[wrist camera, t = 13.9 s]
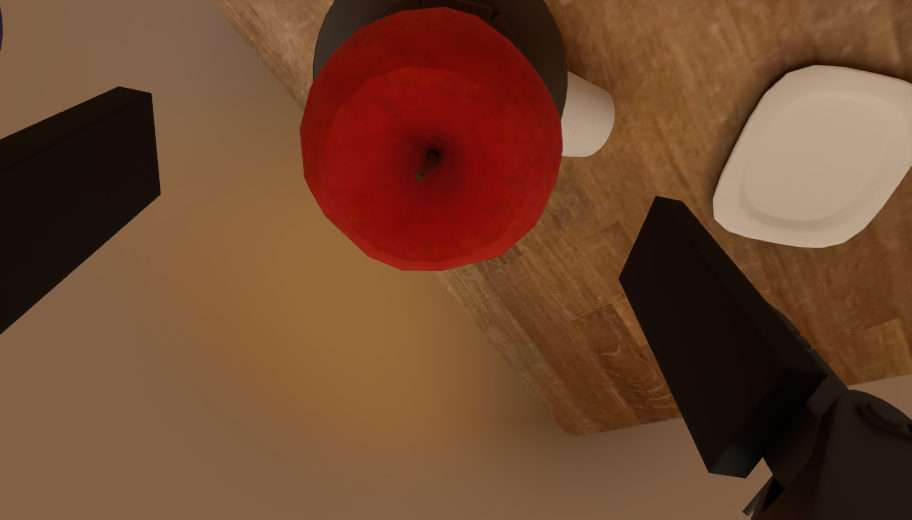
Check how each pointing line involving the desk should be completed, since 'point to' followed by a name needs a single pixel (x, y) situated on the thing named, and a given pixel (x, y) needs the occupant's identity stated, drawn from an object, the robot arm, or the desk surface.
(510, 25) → the holder
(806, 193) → the plate
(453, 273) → the desk surface
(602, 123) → the cup
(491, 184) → the apple
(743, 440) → the robot arm
